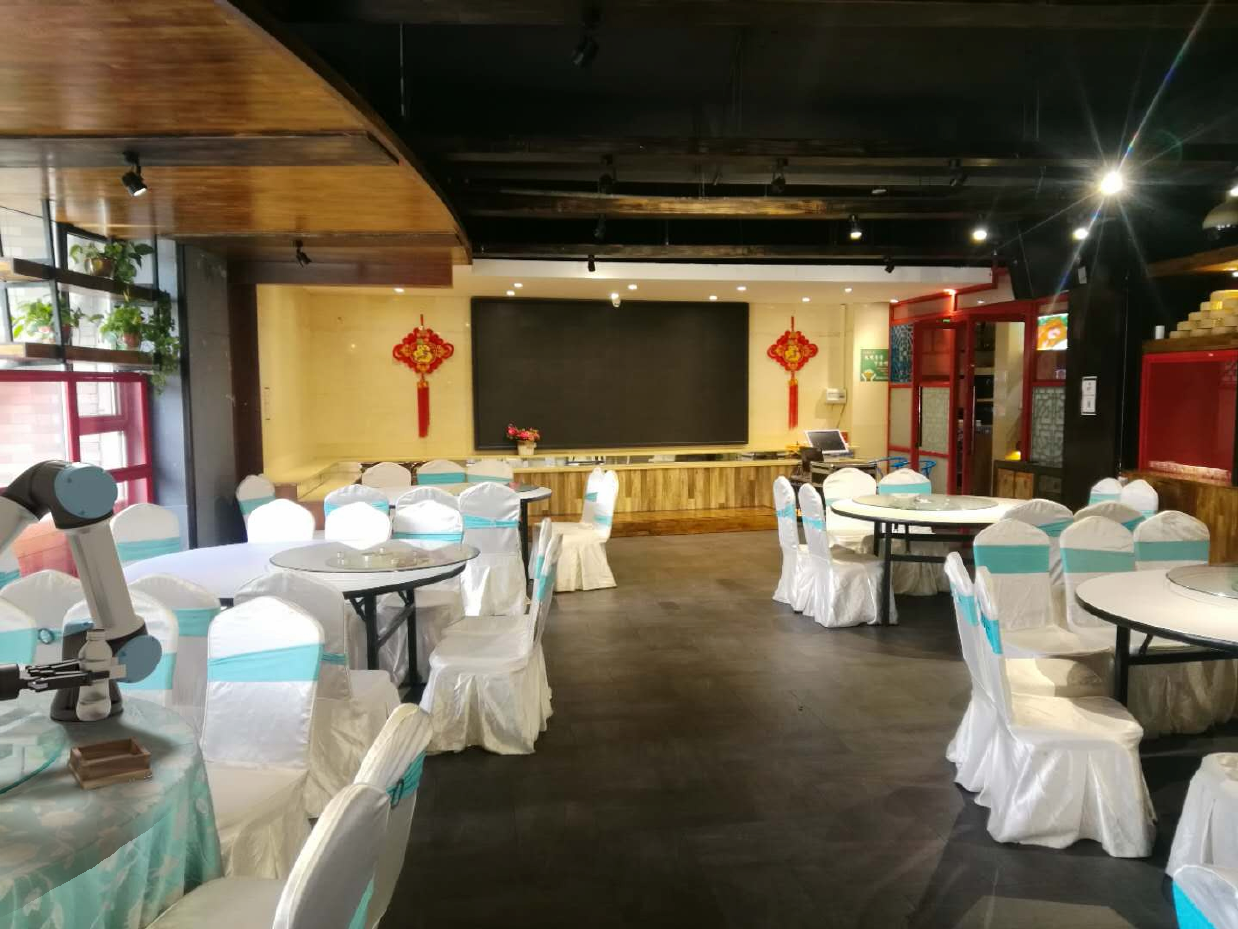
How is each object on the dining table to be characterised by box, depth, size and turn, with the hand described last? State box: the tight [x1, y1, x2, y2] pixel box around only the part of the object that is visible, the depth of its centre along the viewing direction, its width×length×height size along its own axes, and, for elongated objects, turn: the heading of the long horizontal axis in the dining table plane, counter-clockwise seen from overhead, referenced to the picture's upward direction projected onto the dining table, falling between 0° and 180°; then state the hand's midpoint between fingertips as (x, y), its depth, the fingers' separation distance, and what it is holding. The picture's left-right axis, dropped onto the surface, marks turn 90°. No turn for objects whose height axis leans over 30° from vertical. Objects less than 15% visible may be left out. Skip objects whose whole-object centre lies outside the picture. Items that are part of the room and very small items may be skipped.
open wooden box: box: [67, 736, 153, 791], centre depth 174 cm, size 16×12×4 cm
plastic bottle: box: [76, 628, 113, 722], centre depth 185 cm, size 6×7×20 cm
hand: (121, 666), depth 189 cm, fingers closed on plastic bottle, 6 cm apart
